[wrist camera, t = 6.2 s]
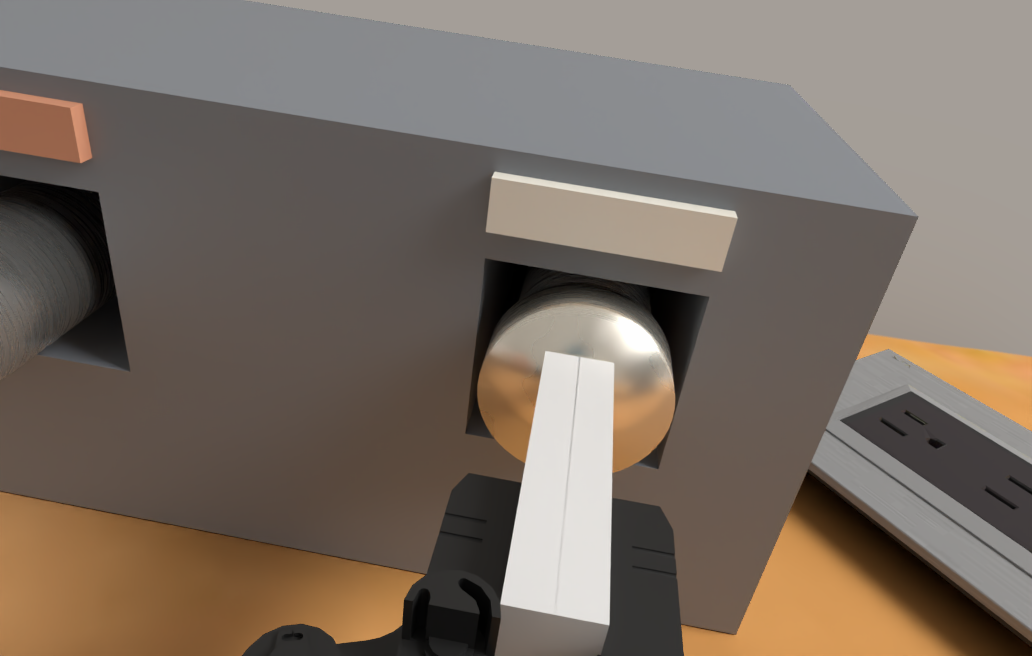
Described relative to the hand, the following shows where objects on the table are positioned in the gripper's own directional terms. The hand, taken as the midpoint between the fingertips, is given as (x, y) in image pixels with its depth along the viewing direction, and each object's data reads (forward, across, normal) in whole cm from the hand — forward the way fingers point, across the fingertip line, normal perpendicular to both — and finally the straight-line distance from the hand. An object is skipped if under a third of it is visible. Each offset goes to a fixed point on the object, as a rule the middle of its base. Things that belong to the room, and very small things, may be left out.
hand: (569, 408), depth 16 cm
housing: (+8, -7, -8) cm, 13 cm away
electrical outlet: (+9, +15, -9) cm, 20 cm away
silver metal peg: (+6, 0, -2) cm, 6 cm away
